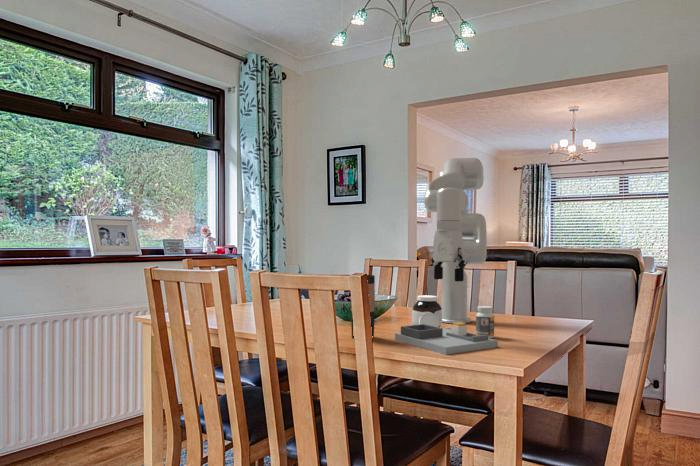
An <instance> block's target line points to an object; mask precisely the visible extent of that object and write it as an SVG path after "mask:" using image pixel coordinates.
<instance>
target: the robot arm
mask: <svg viewBox="0 0 700 466" xmlns="http://www.w3.org/2000/svg"><path fill="white" fill-rule="evenodd" d="M484 178H485V177H484V166H483V164H482V161H481V160H480V158H477V157H457V158H456V157H455V158H454V157H453V158H450V159H447V161H446V162H444V164H443V166H442V170H441V171H440V172H439V173H438V176H437V177H436V178H434V179H433V180H432V181H430V182H429V183H428V184H427V186H426V190H425V194H424V207H425V209H426V210H427V212H430V213H436V230H435V231H434V232H435V233H434V237H433V244H432V251H430V253H429V257H430V261H431V263H432V267H433V279H434V280H441V309H442V323H445V324H453V323H458V322H461V323H466V324H469V323H471V322H472V318H470V317H468V275H467V273H466V270H464V269H465V268H466V266H467V265H482V264H484V263H485V262H486V260H487V254H488V253H487V252H488V251H487V241H488V240H487V239H488V237H487V219H486V217H485V216H484V215H483V214H482V213H473V212H472V213H468V212H467V211H468V210H467V209H468V206H469V196H468V195H467V193H466V192H465V191H466V190H467V191H470V190H471V191H472V190H473V191H476V190H480V189H481V188H482V187H483V185H484ZM467 238H468V239H467Z"/></svg>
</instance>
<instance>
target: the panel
mask: <svg viewBox="0 0 700 466" xmlns="http://www.w3.org/2000/svg"><path fill="white" fill-rule="evenodd" d="M394 340H395V341H399V342H401V343H405V344H409V345H411V346H412V345H413V346H414V347H419V348H421V349H426V350H429V351H432V352H435V353H439V354H442V355H452V354H460V353H467V352H472V351H473V352H474V351H481V350H487V349H495V348H498V340H497V339H493V338H488V335H486V334H485V335H476V333H471V332H467V335H466V336H461V335H456V334H452V333H451V328H450V329H449V328H446V327H439V328H438V327H434V326H430V325H425V324H420V325H413V324H412V325H411V324H410V325H402V326H400V332H397V333H396V332H395V333H394Z"/></svg>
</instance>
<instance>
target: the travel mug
mask: <svg viewBox="0 0 700 466" xmlns="http://www.w3.org/2000/svg"><path fill="white" fill-rule="evenodd" d="M366 275H367V280H368V284H369V289H370V290H369V304H370V316H371V327H372V336H373V339H374V336H375V315H376V314H375V313H376V311H375V310H376V308H375V307H376V306H375V305H376V303H375V301H376V300H375V299H376V297H375V295H376V294H375V293H376V291H375V290H376V289H375V286H376V285H375V283H376V281H375V274H374V275H373V274H366ZM350 317H351V318H350V321H351V324H350V326H351V339H353V338H354V336H353V320H352V308H351V307H350Z"/></svg>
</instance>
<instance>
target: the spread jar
mask: <svg viewBox="0 0 700 466" xmlns="http://www.w3.org/2000/svg"><path fill="white" fill-rule="evenodd" d="M441 308H442V305H441V304H440V303H439V302H438V297H437V295H427V294H425V295H424V294H423V295H417V302H416V303H414V305H413V306H412V312H411V313H412V314H411V317H412V318H411V319H412V321H411V322H412V325H420V324H425V325H430V326H434V327H438V328H441V326H442V323H443V322H442V309H441Z"/></svg>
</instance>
